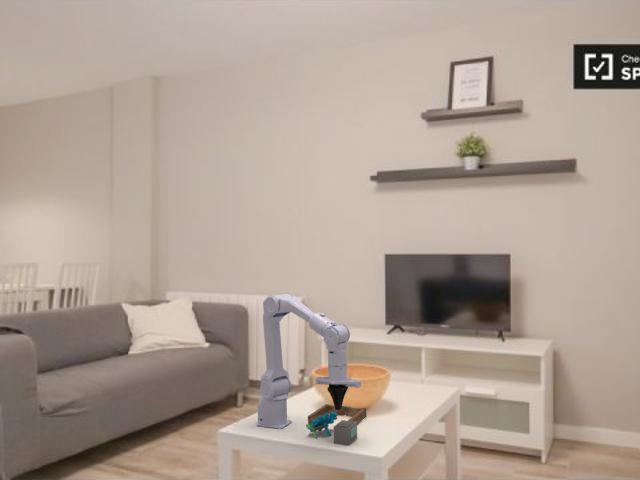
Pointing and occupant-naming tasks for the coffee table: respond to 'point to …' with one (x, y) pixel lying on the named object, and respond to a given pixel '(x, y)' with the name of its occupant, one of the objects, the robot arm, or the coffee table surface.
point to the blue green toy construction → (322, 423)
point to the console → (345, 432)
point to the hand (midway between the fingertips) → (338, 409)
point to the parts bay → (339, 413)
